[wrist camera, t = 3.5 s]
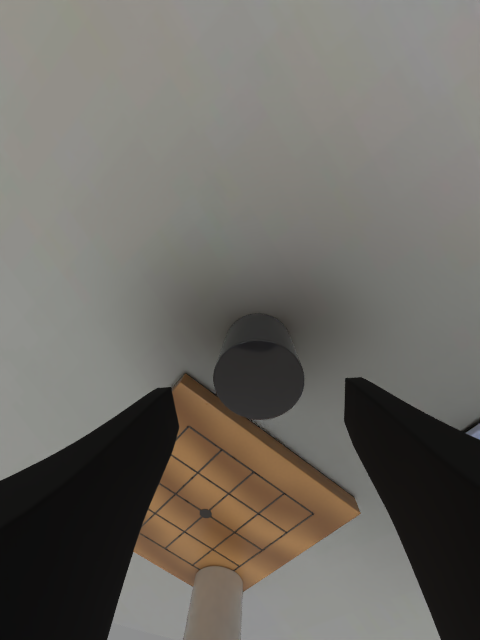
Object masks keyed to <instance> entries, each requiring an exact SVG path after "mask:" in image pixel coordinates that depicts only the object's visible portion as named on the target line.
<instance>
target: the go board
mask: <svg viewBox="0 0 480 640" xmlns="http://www.w3.org/2000/svg"><path fill="white" fill-rule="evenodd" d="M172 394H173V399H174V403H175V408H176V413H177V418H178V423H179V431H178V434H177V438H176V442H175V445H174V448H173V452H172V454H171V456H170V459H169V461H168V464H167V466H166V469H165V471H164V473H163V476H162V478H161V480H160V483H159V485H158V487H157V490H156V492H155V494H154V497H153V499H152V501H151V504H150V506H149V508H148V511H147V514H146V516H145V519H144V521H143V524H142V527H141V530H140V533H139V536H138V539H137V542H136V545H135V548H134V551H133V552H135V553H137V554H138V555H140V556H142V557H144V558H145V559H147V560H149V561H150V562H152V563H154V564H155V565H157V566H159V567H160V568H162V569H164V570H165V571H167V572H169V573H171V574H172V575H174V576H176V577H177V578H179V579H181V580H182V581H184V582H186V583H187V584H189V585H191V586H192V587H193V585H194V579H195V576H196V574H197V572H198V571H199V570H201V569H203V568H205V567H209V566H221V567H225V568H228V569H231V570H233V571H234V572H236V573H237V574H238V575H239V576H240V577H241V579H242V581H243V592H244V591H245V590H247V589H248V588H250V587H251V586H253V585H254V584H256V583H257V582H259V581H260V580H262V579H263V578H265V577H266V576H268V575H269V574H271V573H272V572H274V571H275V570H277V569H278V568H280V567H281V566H283V565H284V564H286V563H287V562H289V561H290V560H292V559H293V558H295V557H296V556H298V555H299V554H301V553H302V552H304V551H305V550H307V549H308V548H310V547H311V546H313V545H314V544H316V543H317V542H319V541H320V540H322V539H323V538H325V537H326V536H328V535H329V534H331V533H332V532H334V531H335V530H337V529H338V528H340V527H341V526H343V525H344V524H346V523H347V522H349V521H350V520H352V519H353V518H355V517H356V516H358V515H359V514H361V513H360V511H359V508H358V505H357V503H356V500H355V498H354V497H353V496H351V495H350V494H348V493H347V492H346V491H344V490H343V489H342V488H340V487H339V486H338V485H336V484H335V483H334V482H332V481H331V480H329V479H328V478H327V477H325V476H324V475H323V474H321V473H320V472H319V471H317V470H316V469H315V468H313V467H312V466H310V465H309V464H308V463H306V462H305V461H304V460H302V459H301V458H300V457H298V456H297V455H296V454H294V453H293V452H291V451H290V450H289V449H287V448H286V447H285V446H283V445H282V444H281V443H279V442H278V441H277V440H275V439H274V438H272V437H271V436H270V435H268V434H267V433H266V432H264V431H263V430H262V429H260V428H259V427H258V426H256V425H255V424H253V423H252V422H251V421H249V420H248V419H247V418H245V417H242V416H240V415H237V414H235V413H234V412H232V411H231V410H229V409H228V408H227V407H226V406H225V405H224V404H223V403H222V402H221V400H220V399H219V398H218V397H217V396H215V395H214V394H213V393H211V392H210V391H209V390H207V389H206V388H205V387H203V386H202V385H201V384H199V383H198V382H196V381H195V380H194V379H192V378H191V377H190V376H188V375H187V374H184V375H183V376H182V378H181V379H180V380H179V381H178V382H177V383H176V385H175V386H174V387H173V388H172Z"/></svg>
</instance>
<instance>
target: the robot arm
mask: <svg viewBox="0 0 480 640" xmlns="http://www.w3.org/2000/svg"><path fill="white" fill-rule="evenodd" d="M344 422H345V425H346V427H347V430H348V433H349V436H350V438H351V441H352V443H353V446H354V448H355V450H356V452H357V454H358V456H359V458H360V460H361V461H362V463H363V465H364V467H365V469H366V471H367V473H368V475H369V477H370V479H371V481H372V482H373V484H374V486H375V488H376V490H377V492H378V494H379V496H380V498H381V500H382V502H383V503H384V505H385V507H386V509H387V511H388V513H389V515H390V517H391V519H392V522H393V524H394V526H395V528H396V530H397V533H398V535H399V537H400V540H401V542H402V544H403V547H404V549H405V552H406V554H407V556H408V559H409V561H410V563H411V566H412V568H413V571H414V573H415V576H416V578H417V580H418V583H419V585H420V588H421V590H422V593H423V595H424V598H425V600H426V603H427V605H428V607H429V610H430V612H431V615H432V618H433V620H434V623H435V625H436V628H437V630H438V633H439V636H440V638H441V640H480V423H479V424H478V425H476V426H475V427H473V428H472V429H470V430H469V431H467V432H466V433H464V432H462V431H459V430H457V429H455V428H453V427H451V426H449V425H447V424H445V423H443V422H441V421H439V420H437V419H435V418H434V417H432V416H430V415H428V414H426V413H424V412H422V411H420V410H418V409H417V408H415V407H413V406H411V405H409V404H408V403H406V402H404V401H402V400H401V399H399V398H397V397H395V396H394V395H392V394H390V393H389V392H387V391H385V390H383V389H382V388H380V387H378V386H377V385H375V384H373V383H371V382H370V381H368V380H366V379H364V378H362V377H358V378H345V410H344ZM178 431H179V423H178V418H177V413H176V408H175V403H174V399H173V394H172V389H171V387H168V388H157V389H155V390H153V391H152V392H150V393H148V394H147V395H145V396H144V397H143V398H141V399H140V400H138V401H137V402H135V403H134V404H133V405H131V406H130V407H128V408H127V409H125V410H124V411H123V412H121V413H120V414H118V415H117V416H115V417H114V418H112V419H111V420H109V421H108V422H106V423H105V424H103V425H102V426H100V427H99V428H97V429H95V430H94V431H92V432H91V433H89V434H88V435H86V436H85V437H83V438H81V439H80V440H78V441H76V442H75V443H73V444H71V445H69V446H68V447H66V448H64V449H62V450H60V451H59V452H57V453H55V454H53V455H51V456H50V457H48V458H46V459H44V460H42V461H40V462H38V463H36V464H34V465H32V466H30V467H28V468H26V469H24V470H22V471H20V472H18V473H16V474H14V475H12V476H10V477H8V478H6V479H3V480H1V481H0V640H107V638H108V634H109V631H110V627H111V624H112V620H113V617H114V613H115V610H116V606H117V603H118V599H119V596H120V593H121V590H122V586H123V583H124V580H125V577H126V573H127V570H128V567H129V564H130V560H131V557H132V554H133V551H134V548H135V545H136V542H137V539H138V536H139V533H140V530H141V527H142V524H143V521H144V519H145V516H146V514H147V511H148V508H149V506H150V504H151V501H152V499H153V497H154V494H155V492H156V490H157V487H158V485H159V483H160V480H161V478H162V476H163V473H164V471H165V469H166V466H167V464H168V461H169V459H170V456H171V454H172V452H173V448H174V445H175V442H176V438H177V434H178Z"/></svg>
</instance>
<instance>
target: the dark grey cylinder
mask: <svg viewBox="0 0 480 640" xmlns="http://www.w3.org/2000/svg"><path fill="white" fill-rule="evenodd" d="M213 382H214V387H215V391H216V393H217V395H218V397H219V399H220V400H221V402H222V403H223V404H224V405H225V406H226V407H227V408H228V409H229V410H231V411H232V412H234V413H235V414H237V415H240V416H242V417H245V418H249V419H256V420H263V419H270V418H274V417H277V416H280V415H282V414H284V413H285V412H287V411H288V410H290V409H291V408H292V407H293V406H294V405H295V404H296V402H297V401H298V400H299V398H300V396H301V394H302V391H303V388H304V372H303V368H302V366H301V363H300V360H299V358H298V355H297V353H296V350H295V347H294V345H293V342H292V339H291V337H290V334H289V332H288V330H287V328H286V327H285V326H284V324H283V323H281V322H280V321H279V320H278V319H276V318H274V317H272V316H270V315H266V314H250V315H246V316H244V317H242V318H240V319H238V320H237V321H236V322H235V323H234V324H233V325H232V326H231V327H230V329H229V331H228V333H227V335H226V338H225V341H224V344H223V346H222V349H221V352H220V355H219V358H218V360H217V363H216V366H215V369H214V375H213Z"/></svg>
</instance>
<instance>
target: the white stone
mask: <svg viewBox="0 0 480 640" xmlns="http://www.w3.org/2000/svg"><path fill="white" fill-rule="evenodd" d="M242 598H243V581H242V579H241V577H240V576H239V575H238V574H237V573H236V572H234V571H233V570H231V569H228V568H225V567H221V566H209V567H205V568H203V569H201V570H199V571H198V572H197V574H196V576H195V579H194V585H193V590H192V595H191V601H190V606H189V611H188V616H187V622H186V627H185V632H184V638H183V640H241V622H242Z"/></svg>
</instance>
